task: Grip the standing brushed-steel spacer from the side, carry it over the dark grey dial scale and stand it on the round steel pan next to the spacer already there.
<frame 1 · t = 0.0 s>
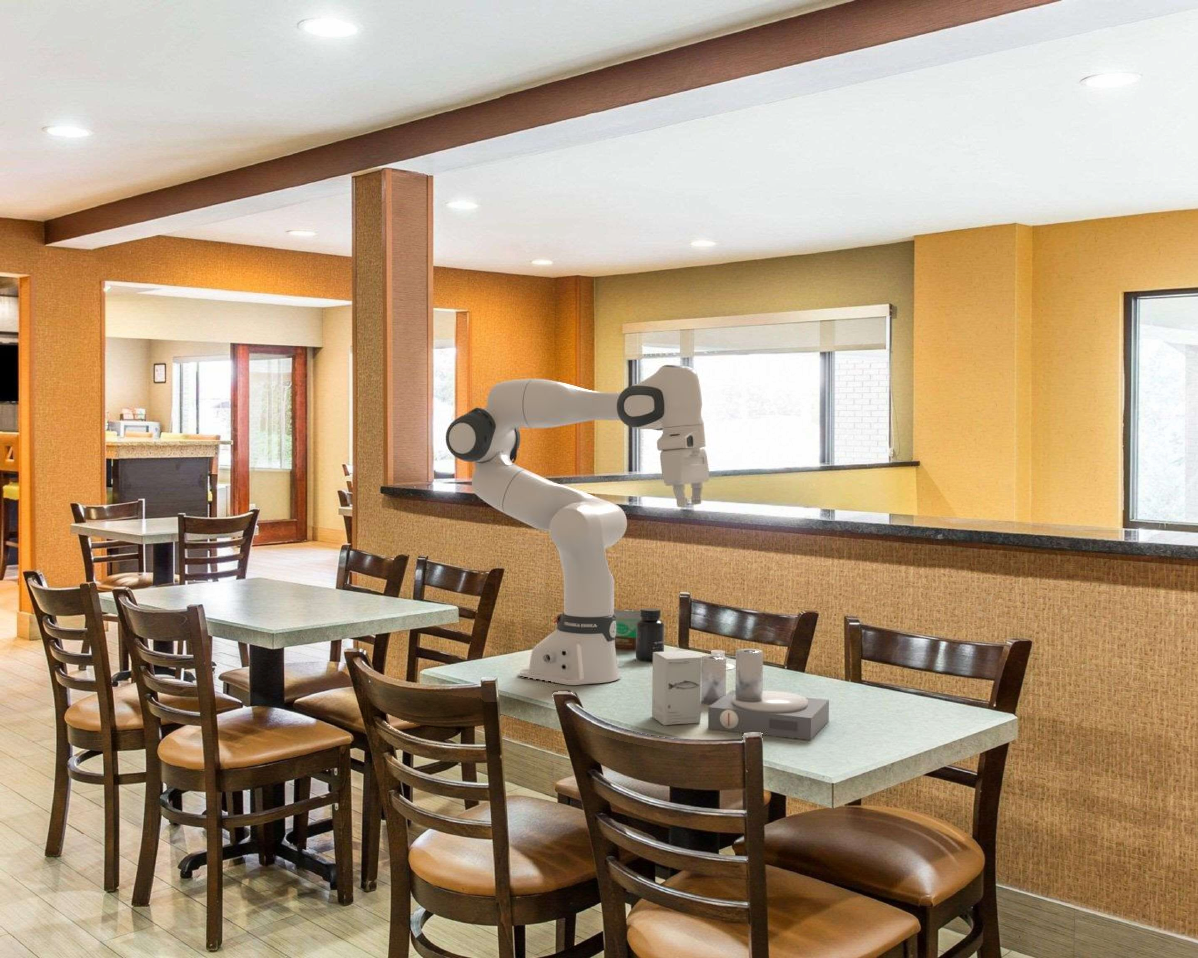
hand: (689, 505, 240), 39 cm above the table, tool pointing down, fingers open, 8 cm apart
spacer b: (713, 701, 229), on the table
supplement bottle: (649, 659, 272), on the table
spacer a: (748, 699, 211), point 5 cm above the table, touching dial scale
dial scale: (769, 724, 211), on the table
food container: (626, 649, 285), on the table
supplement box: (676, 721, 214), on the table
teacup and saucer: (727, 668, 265), on the table
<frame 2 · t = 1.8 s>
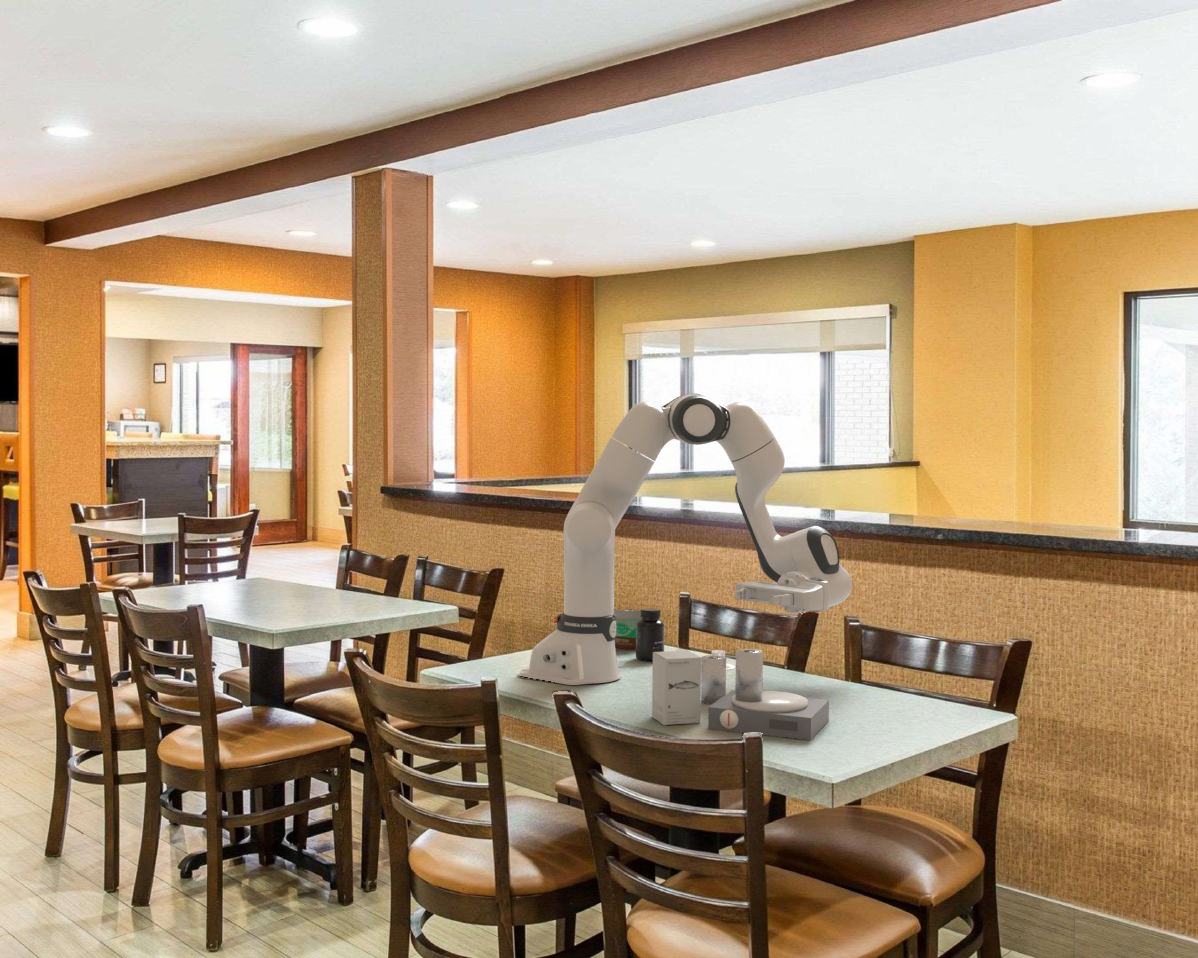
hand: (754, 598, 236), 20 cm above the table, tool horizontal, fingers open, 8 cm apart
nothing on the table moved.
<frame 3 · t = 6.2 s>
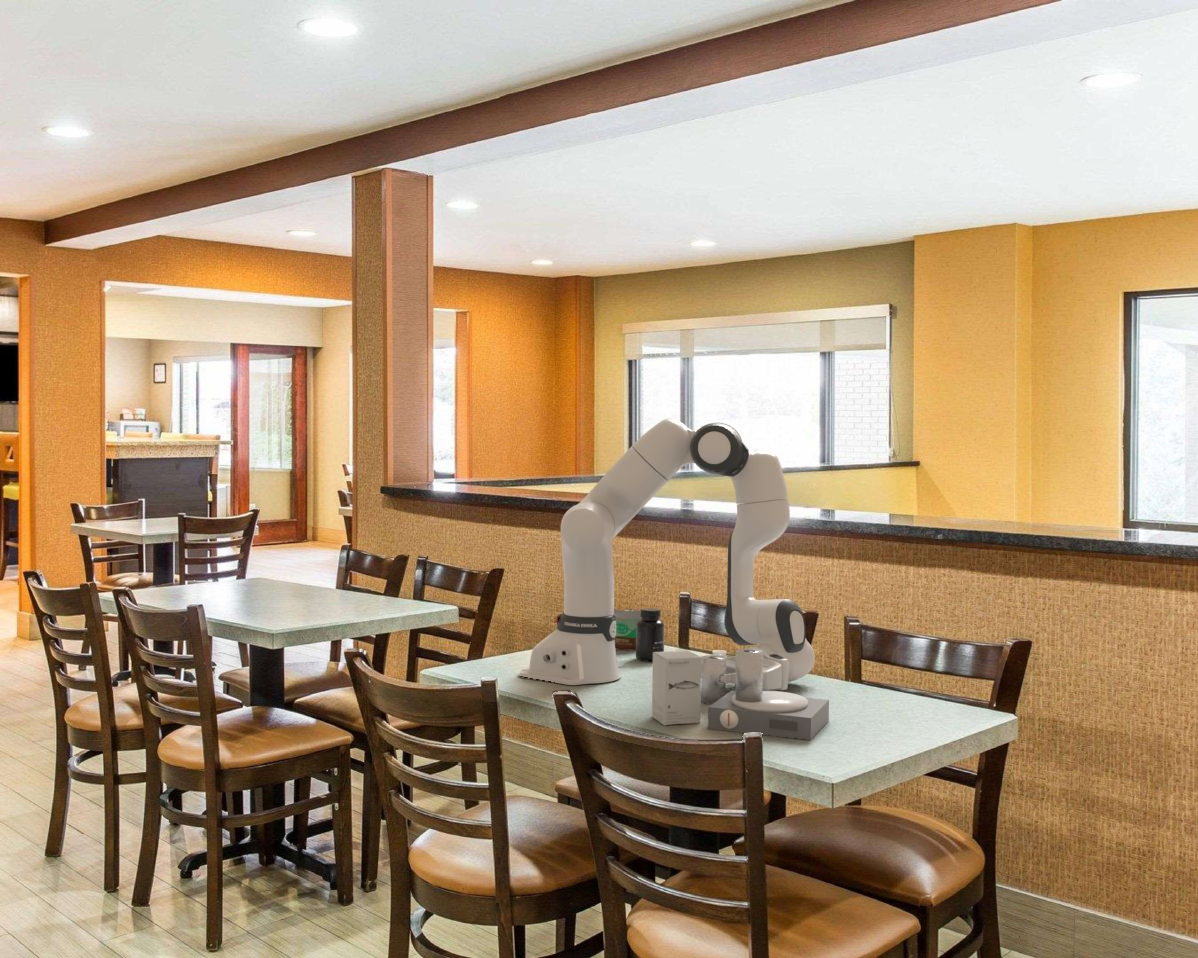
hand: (710, 676, 228), 5 cm above the table, tool horizontal, fingers closed on spacer b, 5 cm apart
spacer b: (713, 701, 229), on the table, touching gripper
everything else where it was.
when the fingers open (11 cm above the table, at t = 11.2 s): spacer b stays where it is, resting on dial scale.
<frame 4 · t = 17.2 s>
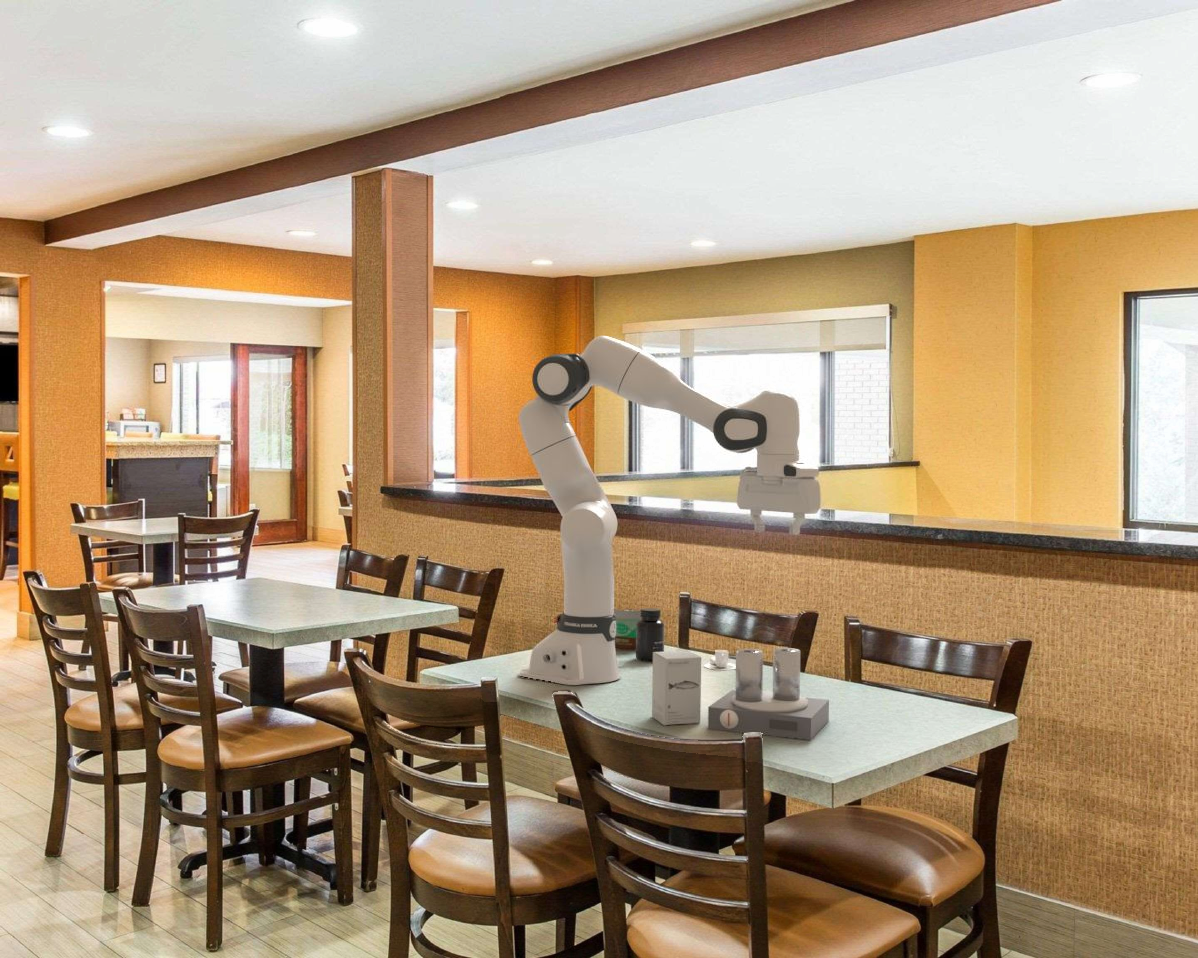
hand: (776, 533, 241), 33 cm above the table, tool pointing down, fingers open, 8 cm apart
spacer b: (786, 697, 212), point 5 cm above the table, touching dial scale
everything else where it was.
at the end: spacer b inside the target area on the dial scale (3.4 cm from its centre), point 4.8 cm above the dial scale's base; spacer b tilted 0°; spacer a 3.9 cm from the dial scale (horizontally) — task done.
